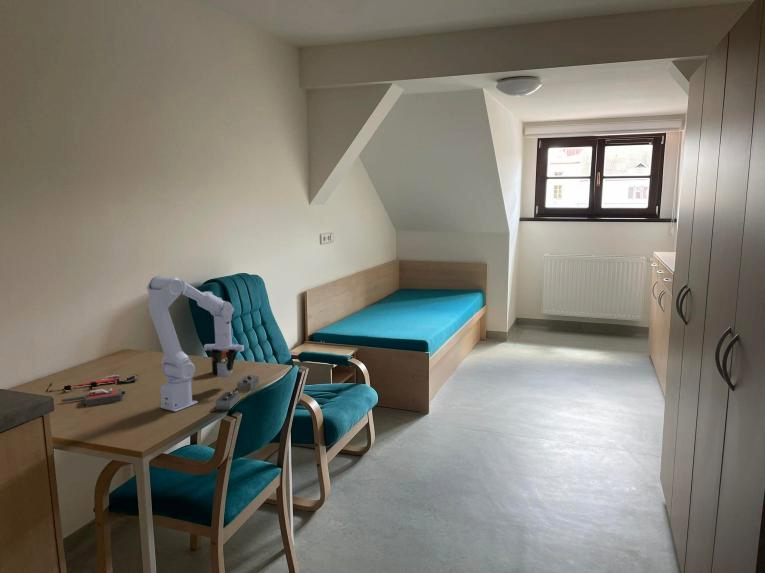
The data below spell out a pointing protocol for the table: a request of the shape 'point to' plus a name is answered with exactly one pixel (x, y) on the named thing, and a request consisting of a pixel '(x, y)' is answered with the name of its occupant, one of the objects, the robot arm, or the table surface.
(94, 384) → the red black toy gun
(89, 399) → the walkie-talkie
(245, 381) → the studded link strip
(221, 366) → the block with brass knobs
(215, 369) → the battery
